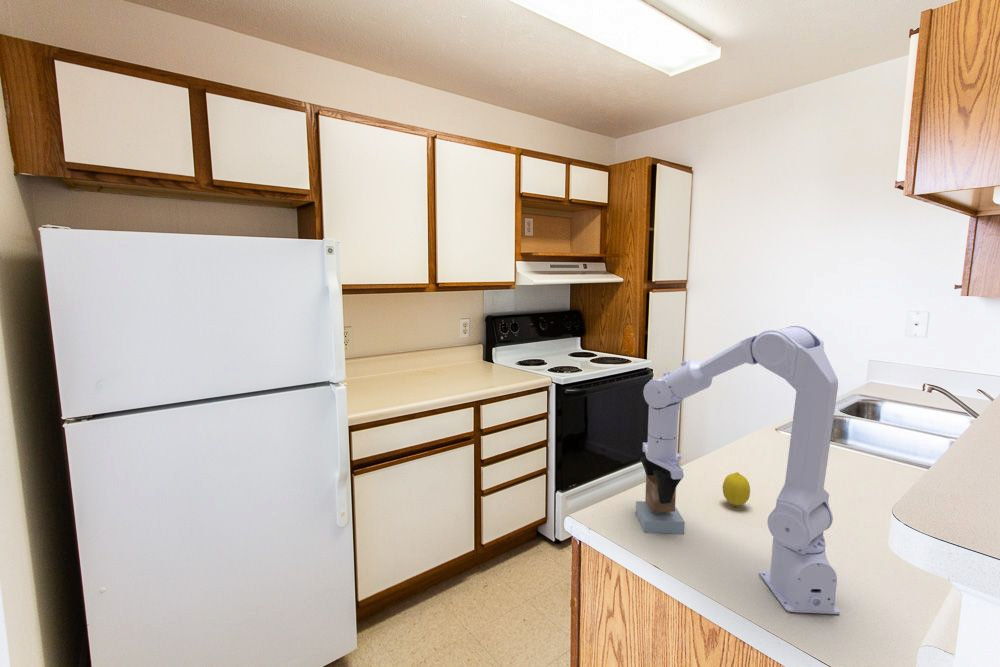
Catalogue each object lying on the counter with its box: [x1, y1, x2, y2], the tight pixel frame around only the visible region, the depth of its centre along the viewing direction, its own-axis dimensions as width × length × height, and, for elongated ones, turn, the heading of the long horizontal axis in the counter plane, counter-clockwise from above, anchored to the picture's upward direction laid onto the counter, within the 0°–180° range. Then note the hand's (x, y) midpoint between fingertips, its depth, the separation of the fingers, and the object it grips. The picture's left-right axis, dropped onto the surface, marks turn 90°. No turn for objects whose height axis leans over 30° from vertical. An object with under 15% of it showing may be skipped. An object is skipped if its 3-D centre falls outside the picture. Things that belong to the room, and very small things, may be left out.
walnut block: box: [644, 475, 677, 513], centre depth 97 cm, size 4×4×6 cm
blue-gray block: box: [635, 500, 686, 535], centre depth 98 cm, size 8×8×3 cm
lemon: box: [722, 472, 751, 507], centre depth 104 cm, size 6×6×8 cm
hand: (659, 496), depth 97 cm, fingers closed on walnut block, 4 cm apart
